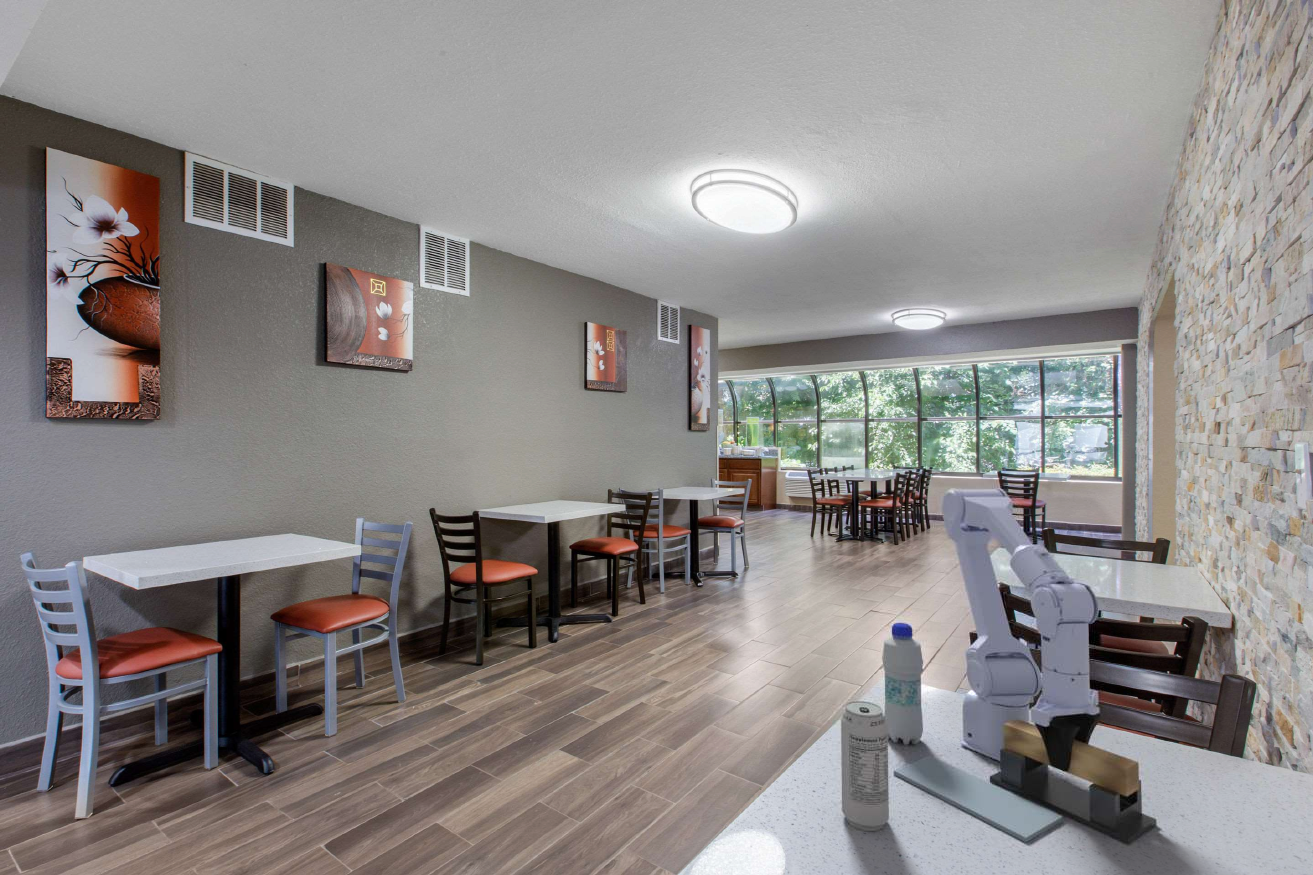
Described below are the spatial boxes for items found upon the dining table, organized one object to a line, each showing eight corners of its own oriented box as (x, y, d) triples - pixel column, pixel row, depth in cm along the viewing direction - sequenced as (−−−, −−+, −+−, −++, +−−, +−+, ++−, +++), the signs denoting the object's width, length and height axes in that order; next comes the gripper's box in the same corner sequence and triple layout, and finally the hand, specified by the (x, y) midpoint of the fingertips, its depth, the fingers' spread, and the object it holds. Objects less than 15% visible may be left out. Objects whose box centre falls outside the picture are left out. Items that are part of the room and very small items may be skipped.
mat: (893, 774, 97) (893, 770, 97) (930, 759, 101) (930, 755, 101) (1026, 842, 80) (1025, 837, 80) (1062, 820, 84) (1062, 816, 84)
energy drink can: (884, 809, 87) (883, 700, 88) (892, 835, 81) (891, 718, 82) (839, 805, 88) (838, 697, 89) (844, 830, 82) (843, 715, 83)
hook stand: (989, 781, 95) (989, 745, 95) (1019, 767, 99) (1018, 733, 99) (1128, 844, 79) (1127, 802, 79) (1156, 825, 83) (1155, 784, 83)
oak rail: (1004, 747, 95) (1003, 723, 95) (1017, 741, 97) (1016, 718, 97) (1126, 796, 81) (1126, 769, 81) (1139, 788, 83) (1138, 762, 83)
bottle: (928, 749, 105) (926, 629, 105) (886, 746, 106) (884, 627, 107) (919, 732, 111) (918, 618, 112) (880, 729, 113) (878, 617, 113)
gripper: (1069, 686, 82) (1071, 791, 82) (1121, 667, 90) (1123, 763, 89) (1015, 671, 88) (1016, 768, 88) (1068, 653, 96) (1069, 743, 96)
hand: (1066, 764), depth 89 cm, fingers closed on oak rail, 3 cm apart
